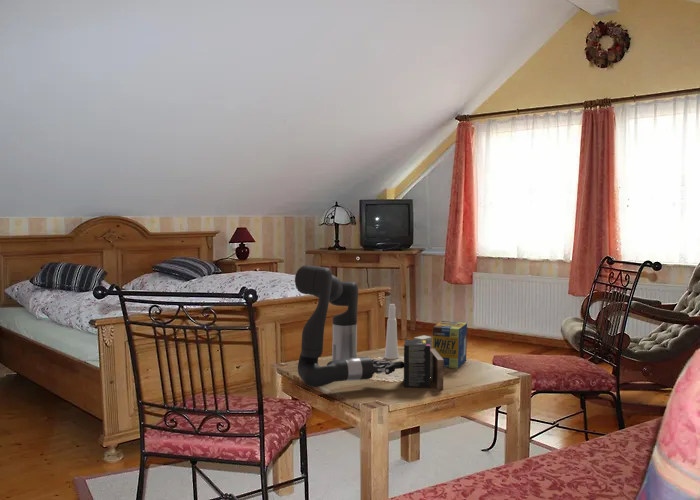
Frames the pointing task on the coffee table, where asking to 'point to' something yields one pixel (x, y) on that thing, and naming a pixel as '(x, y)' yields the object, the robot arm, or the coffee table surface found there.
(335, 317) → the robot arm
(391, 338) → the cosmetic bottle
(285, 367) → the coffee table surface
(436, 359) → the walnut board
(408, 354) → the tampon box
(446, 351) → the protein box
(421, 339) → the skincare box
